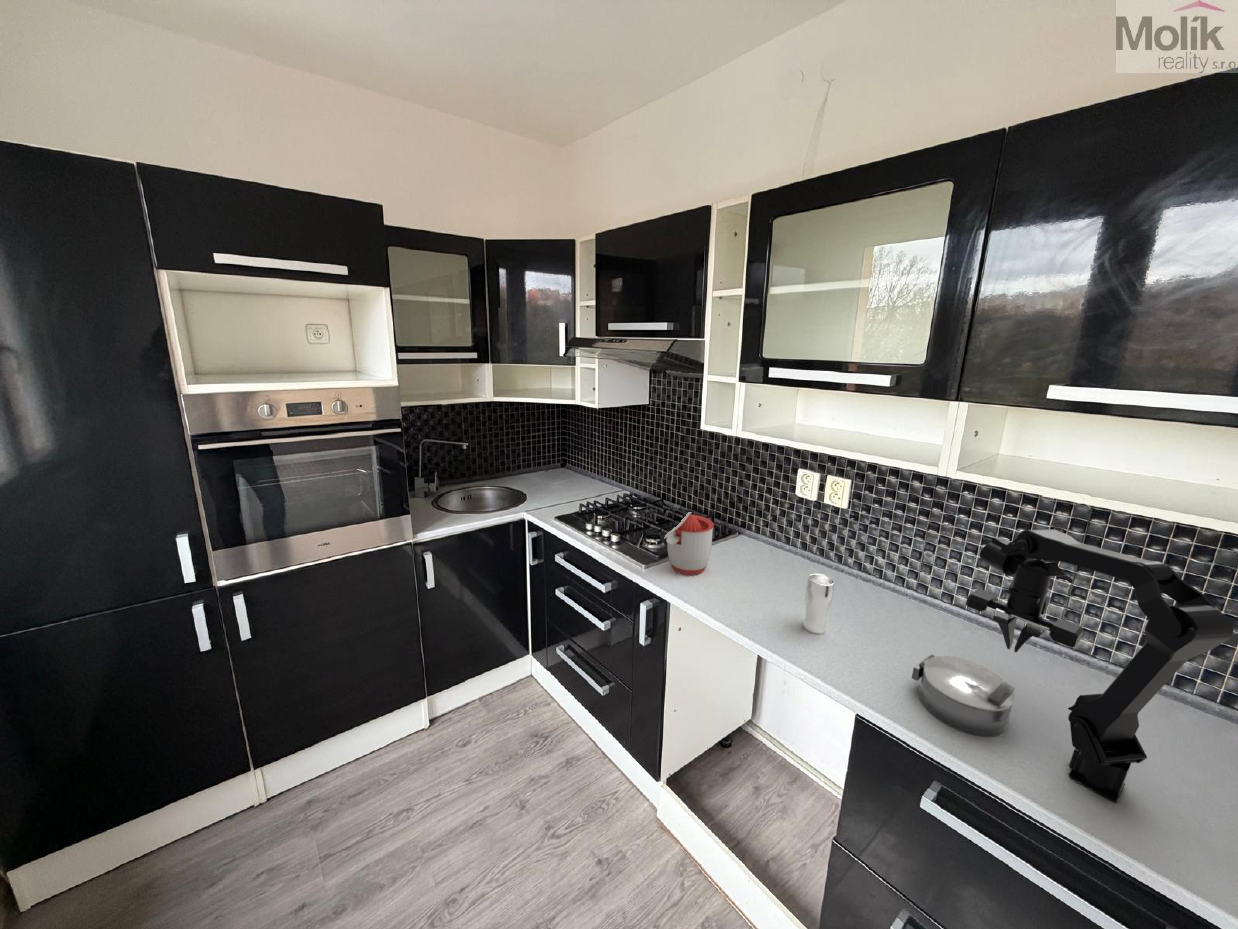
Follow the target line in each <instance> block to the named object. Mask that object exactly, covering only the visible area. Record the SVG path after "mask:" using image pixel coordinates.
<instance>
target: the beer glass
mask: <svg viewBox="0 0 1238 929" xmlns="http://www.w3.org/2000/svg"><path fill="white" fill-rule="evenodd" d="M834 593H835V580H834V578H832V577H831V576H829V575H827V574H823V573H812V574H811V573H810V574H809V575H808V579H807V583H806V588H805V612H806V613H805V618H804V621H803V623H802V627H803V628H804V629H805V630H806V631H807V632H809V633H812V634H815V635H822V634H824V633H826V632H827V630H828V628H827V618H828V614H829V611H830V609H831V606H832V603H833V599H834Z"/></svg>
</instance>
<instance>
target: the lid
mask: <svg viewBox="0 0 1238 929" xmlns="http://www.w3.org/2000/svg"><path fill="white" fill-rule="evenodd" d="M928 656H929V657H928V658H927V659H925V658H924V659H925V660H924V661H923V662H922V663H920V662H919V663H920V664H919V667H920V668H924V669H923V672H924V675H925V677H926V679H927V680H928V682H929V683H930V684H931V685H932V686H933V687H934V688H935V689H936V690H938V691H939V692H940V693H942V694H943V695H945V696H947V697H948V698H950V699H952V700H954V701H956V702H958V703H960V704H963V705H965V706H968V707H971V708H975V709H979V710H984V711H1003V710H1007V709H1009V708H1010V707H1011V706H1012V707H1013V705H1012V704H1014V701H1015V694H1014V691H1015V687H1014V686H1012V685H1011V684H1009V683H1008V682H1007V681H1006V680H1004V679H1003V678H1002V677H1001V676H1000V675H998V674H997V673H996V672H994V671H992V670H990V669H989V668H987V667H985V666H983V665H980V664H978V663H976V662H973V661H971V660H967V659H965V658H961V657H956V656H950V655H949V656H948V655H938V656H937V655H936V656H935V655H934V654H930V655H928Z"/></svg>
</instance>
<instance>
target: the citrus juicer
mask: <svg viewBox="0 0 1238 929" xmlns="http://www.w3.org/2000/svg"><path fill="white" fill-rule="evenodd" d="M714 527H715V525H714V522H713V521H712V520H711V519H709V518H707V517H705V516H702V515H697V514H692V513H689V514H688V515H687V517H686V518H685V519H684V520H683V521H682V523H681V524H680V525H679V526H678V527H677V528H675V529H674V530H673V531H672V532H670V533H669V534H668V535H667V536H666V538H665V539H666V543H667V555H668V560H669V564H670V566H671V569H672V570H673V571H675V572H677V573H679V574H681V575H682V574H683V575H685V576H691V575H699V574H701V573H703V572H704V571H705V569H706V568H707V566H708V564H709V560H710V559H711V552H712V544H713V543H712V542H713V530H714V529H713V528H714Z"/></svg>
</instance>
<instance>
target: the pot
mask: <svg viewBox="0 0 1238 929" xmlns="http://www.w3.org/2000/svg"><path fill="white" fill-rule="evenodd" d="M929 656H930V655H927V656H926V657H925V658H924V659H922V660H920V661H919V662H918V663H917V664H916V665H914V667H913V670H912V673H911V679H912V680H914V681H916V682H917V681H920V684H919V690H918V694H917V695H918V698H919V700H920V703H921V704H922V706H923V707H924V708H925V710H927V712H928V713H929V714H931V715H932V716H933V717H934V718H936V719H937V720H939V721H940V722H942V723H943V724H946V725H947V726H949V727H951V728H953V729H954V730H958V731H960V732H963V733H966V734H968V735H972V736H975V737H984V738H985V737H986V738H988V737H990V738H992V737H996V736H1000V735H1002V734H1003V733H1005V731H1006V729H1007V727H1008V723H1009V718H1010V714H1011V712H1012V708H1013V704H1014V703H1013V704H1012V706H1011V707H1010V708H1009V709H1007V710H1003V711H984V710H979V709H975V708H971V707H968V706H965V705H963V704H960V703H958V702H956V701H954V700H952V699H950V698H948V697H947V696H945V695H943V694H942V693H940V692H939V691H938V690H936V689H935V688H934V687H933V686H932V685H931V684H930V683H929V682H928V680H927V679H926V677H925V675H924V672H923V669H924V668H920V667H919V664H920V663H922V662H923V661H924V660H925V659H927V658H928V657H929Z"/></svg>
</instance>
